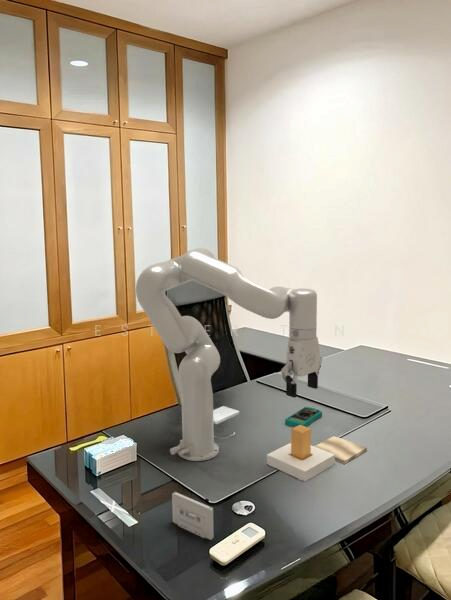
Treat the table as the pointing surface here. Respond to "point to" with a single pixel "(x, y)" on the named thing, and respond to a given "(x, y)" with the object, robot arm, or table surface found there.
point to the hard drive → (223, 414)
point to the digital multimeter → (303, 417)
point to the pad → (341, 449)
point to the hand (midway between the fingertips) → (302, 391)
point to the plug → (301, 442)
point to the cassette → (194, 523)
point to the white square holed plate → (301, 462)
